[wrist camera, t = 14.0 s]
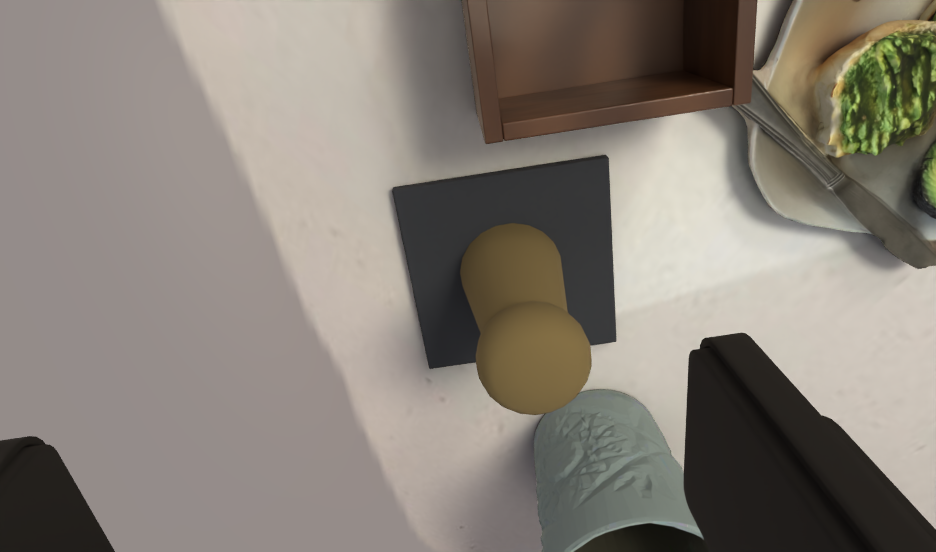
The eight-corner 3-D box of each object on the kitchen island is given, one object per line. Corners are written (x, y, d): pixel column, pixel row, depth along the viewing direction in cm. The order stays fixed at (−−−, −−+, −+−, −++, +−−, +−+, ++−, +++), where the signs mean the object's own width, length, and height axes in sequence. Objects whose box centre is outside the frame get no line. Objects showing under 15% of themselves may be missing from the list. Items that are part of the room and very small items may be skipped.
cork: (478, 327, 37) (492, 451, 27) (445, 242, 35) (448, 344, 25) (572, 298, 37) (622, 414, 27) (546, 209, 34) (591, 300, 24)
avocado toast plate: (653, 214, 35) (682, 245, 31) (776, -149, 28) (836, -173, 23) (948, 265, 37) (1011, 300, 33) (1135, -57, 30) (1247, -64, 26)
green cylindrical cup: (658, 485, 44) (728, 645, 34) (521, 498, 44) (547, 663, 34) (666, 371, 40) (749, 514, 29) (514, 385, 40) (541, 534, 29)
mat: (429, 364, 39) (429, 369, 38) (392, 187, 34) (392, 190, 33) (614, 337, 39) (616, 342, 38) (606, 154, 33) (608, 157, 33)
